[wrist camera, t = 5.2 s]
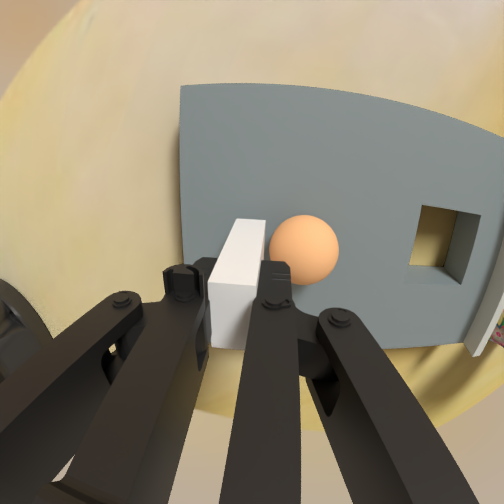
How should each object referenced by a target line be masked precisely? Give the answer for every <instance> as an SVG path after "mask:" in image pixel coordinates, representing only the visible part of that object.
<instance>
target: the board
mask: <svg viewBox="0 0 504 504" xmlns="http://www.w3.org/2000/svg"><path fill="white" fill-rule="evenodd" d="M180 199H181V222H182V240H183V255H184V264H190V265H193V264H194V262H195V261H197V260H198V259H200V258H202V257H212V258H219V256H220V253H221V251H222V249H223V247H224V245H225V242H226V240H227V238H228V236H229V234H230V232H231V229H232V227H233V225H234V223H235V221H236V219H255V220H266V224H265V243H264V260H269V261H271V259H270V254H269V246H270V241H271V238H272V235H273V233H274V231H275V230H276V229H277V227H278V226H279V225H280V224H281V223H282V222H284V221H285V220H287V219H289V218H291V217H294V216H298V215H310V216H314V217H317V218H319V219H321V220H323V221H324V222H325V223H327V224H328V225H329V226H330V227H331V228H332V230H333V232H334V233H335V235H336V237H337V241H338V246H339V255H338V260H337V263H336V265H335V267H334V269H333V270H332V271H331V273H330V274H329V275H328V276H327V277H326V278H324V279H323V280H321V281H319V282H317V283H314V284H310V285H298V284H294V283H291V287H292V300H293V301H294V303H295V307H296V308H298V309H299V310H300V311H302V312H304V313H307V314H310V315H313V316H317V317H318V316H319V314H320V312H322V311H323V310H325V309H328V308H332V307H335V308H344V309H348V310H350V311H352V312H354V313H355V314H356V315H357V316H358V317H359V318H360V319H361V321H362V322H363V323H364V325H365V326H366V327H367V329H368V330H369V332H370V333H371V334H372V336H373V337H374V338H375V340H376V341H377V343H378V344H379V345H380V347H381V348H382V349H393V348H410V347H424V346H435V345H445V344H455V343H464V345H465V346H466V348H467V349H468V351H469V353H470V354H471V356H472V357H475V356H480V354H481V353H482V351H483V349H484V347H485V345H486V344H487V342H488V340H489V338H490V336H491V334H492V332H493V330H494V328H495V326H496V324H497V322H498V320H499V318H500V316H501V313H502V311H503V309H504V138H503V137H500V136H498V135H496V134H494V133H491V132H489V131H487V130H484V129H482V128H479V127H477V126H474V125H472V124H469V123H466V122H464V121H461V120H458V119H455V118H452V117H449V116H446V115H443V114H440V113H437V112H434V111H430V110H427V109H424V108H420V107H416V106H413V105H409V104H405V103H401V102H397V101H393V100H388V99H384V98H379V97H374V96H369V95H364V94H358V93H352V92H346V91H339V90H332V89H325V88H316V87H306V86H295V85H281V84H256V83H223V84H199V85H185V86H181V90H180ZM422 205H427V206H433V207H439V208H445V209H451V210H457V211H458V212H457V217H456V222H455V226H454V231H453V235H452V239H451V243H450V246H449V250H448V254H447V257H446V261H445V264H444V267H434V266H417V265H409V261H410V257H411V253H412V249H413V245H414V241H415V236H416V232H417V227H418V222H419V217H420V212H421V207H422ZM209 343H211V338H210V341H209Z"/></svg>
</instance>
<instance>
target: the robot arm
mask: <svg viewBox="0 0 504 504" xmlns="http://www.w3.org/2000/svg"><path fill="white" fill-rule="evenodd" d="M265 224H266V220H255V219H236V221H235V223H234V225H233V227H232V229H231V232H230V234H229V236H228V238H227V240H226V242H225V245H224V247H223V249H222V251H221V253H220V256H219V258H212V257H202V258H200V259H198V260H197V261H195V262H194V264H193V265H190V264H179V265H174V266H171V267H169V268H166V269H165V270H164V271H163V280H164V288H165V296H164V297H163V299H162V300H161V301H160V302H151V303H142V301H141V297H140V296H139V294H137V293H135V292H131V291H119V292H117V293H113V294H112V295H110V296H108V297H107V298H105V299H104V300H103V301H101V302H100V303H99V304H97V305H96V306H95V307H93V308H92V309H91V310H90V311H88V312H87V313H86V314H84V315H83V316H82V317H80V318H79V319H78V320H77V321H75V322H74V323H73V324H72V325H70V326H69V327H68V328H66V329H65V330H64V331H63V332H61V333H60V334H59V335H58V336H56V337H55V338H54V339H53V340H52V338H51V336H50V334H49V332H48V330H47V328H46V327H45V325H44V323H43V322H42V320H41V319H40V317H39V316H38V314H37V313H36V312H35V310H34V309H33V308H32V306H31V305H30V304H29V303H28V301H27V300H26V299H25V298H24V297H23V296H22V295H21V294H20V293H19V292H18V291H17V290H16V289H15V288H14V287H12V286H11V285H10V284H9V283H7V282H5V281H4V280H1V279H0V504H168V501H169V497H170V493H171V490H172V486H173V482H174V478H175V475H176V471H177V468H178V464H179V460H180V457H181V453H182V449H183V445H184V442H185V438H186V435H187V431H188V428H189V424H190V421H191V417H192V414H193V410H194V407H195V403H196V400H197V396H198V393H199V389H200V386H201V382H202V379H203V375H204V372H205V368H206V365H207V361H208V358H209V349H208V345H209V341H210V338H211V346H212V347H216V348H226V349H236V350H245V353H244V359H243V365H242V371H241V377H240V383H239V389H238V395H237V401H236V407H235V413H234V419H233V425H232V431H231V437H230V443H229V448H228V454H227V460H226V465H225V471H224V477H223V483H222V488H221V494H220V499H219V504H301V422H300V387H299V375H300V376H304V377H305V378H306V383H307V386H308V388H309V391H310V393H311V396H312V398H313V401H314V404H315V406H316V409H317V411H318V414H319V417H320V419H321V422H322V424H323V427H324V429H325V432H326V435H327V437H328V440H329V442H330V445H331V447H332V450H333V453H334V455H335V458H336V460H337V463H338V466H339V468H340V471H341V474H342V476H343V479H344V481H345V484H346V486H347V489H348V492H349V494H350V497H351V500H352V502H353V504H479V502H478V500H477V499H476V497H475V495H474V493H473V491H472V490H471V488H470V486H469V484H468V482H467V480H466V479H465V477H464V475H463V473H462V472H461V470H460V468H459V467H458V465H457V463H456V461H455V460H454V458H453V457H452V455H451V453H450V451H449V450H448V448H447V447H446V445H445V443H444V442H443V440H442V438H441V437H440V435H439V433H438V432H437V430H436V429H435V427H434V426H433V424H432V422H431V421H430V419H429V418H428V416H427V415H426V413H425V412H424V410H423V408H422V407H421V405H420V404H419V402H418V401H417V399H416V398H415V396H414V395H413V393H412V392H411V390H410V389H409V387H408V386H407V384H406V383H405V381H404V380H403V378H402V377H401V376H400V374H399V373H398V371H397V370H396V368H395V367H394V365H393V364H392V363H391V361H390V360H389V358H388V357H387V355H386V354H385V353H384V351H383V350H382V348H381V347H380V345H379V344H378V343H377V341H376V340H375V338H374V337H373V336H372V334H371V333H370V332H369V330H368V329H367V327H366V326H365V325H364V323H363V322H362V321H361V319H360V318H359V317H358V316H357V315H356V314H355V313H354V312H352V311H350V310H348V309H344V308H335V307H332V308H328V309H325V310H323V311H322V312H320V314H319V316H318V317H317V316H313V315H310V314H307V313H304V312H302V311H300V310H299V309H298V308H296V307H295V303H294V301H293V300H292V287H291V272H290V267H289V266H288V264H287V263H286V262H285V261H269V260H264V243H265ZM113 344H115V347H116V350H115V351H114V352H112V353H110V351H109V348H110V347H111V346H112V345H113ZM75 453H76V454H75ZM74 455H75V456H74ZM73 456H74V458H73V460H72V462H71V464H70V466H69V468H68V470H67V472H66V474H65V476H64V477H63V478H62V479H61V480H60V481H56V482H51V481H52V480H53V479H54V478H55V477H56V476H57V474H58V473H59V472H60V471H61V470H62V469H63V467H64V466H65V465H66V464H67V463H68V461H69V460H70V459H71V458H72V457H73Z"/></svg>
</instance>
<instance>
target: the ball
mask: <svg viewBox="0 0 504 504" xmlns="http://www.w3.org/2000/svg"><path fill="white" fill-rule="evenodd" d="M269 254H270V259H271V261H285V262H286V263H287V264H288V266H289V267H290V272H291V283H294V284H298V285H310V284H314V283H317V282H319V281H321V280H323V279H324V278H326V277H327V276H328V275H329V274H330V273H331V271H332V270H333V269H334V267H335V265H336V263H337V260H338V255H339V246H338V241H337V237H336V235H335V233H334V232H333V230H332V228H331V227H330V226H329V225H328V224H327V223H325V222H324V221H323V220H321V219H319V218H317V217H314V216H310V215H298V216H294V217H291V218H289V219H287V220H285V221H284V222H282V223H281V224H280V225H279V226H278V227H277V229H276V230H275V231H274V233H273V235H272V238H271V241H270V246H269Z"/></svg>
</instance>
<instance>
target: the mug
mask: <svg viewBox="0 0 504 504" xmlns="http://www.w3.org/2000/svg"><path fill="white" fill-rule="evenodd" d="M489 340H490V341H492V342H494V343H497V344H499V345H501V346H502V347H504V309H503V311H502V313H501V316H500V318H499V320H498V322H497V324H496V326H495V328H494V330H493V332H492V334H491V336H490V338H489Z"/></svg>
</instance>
